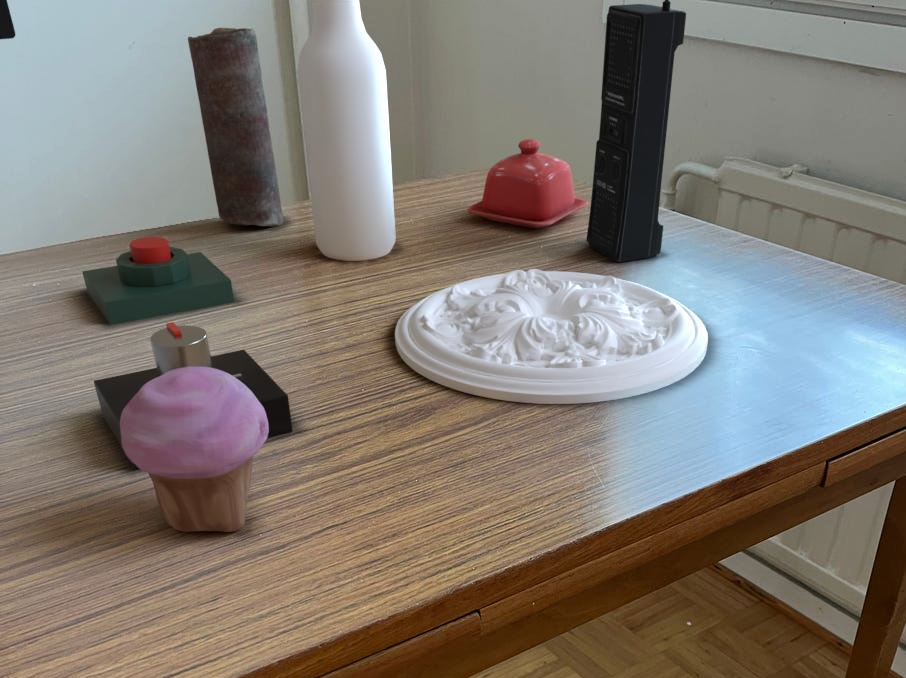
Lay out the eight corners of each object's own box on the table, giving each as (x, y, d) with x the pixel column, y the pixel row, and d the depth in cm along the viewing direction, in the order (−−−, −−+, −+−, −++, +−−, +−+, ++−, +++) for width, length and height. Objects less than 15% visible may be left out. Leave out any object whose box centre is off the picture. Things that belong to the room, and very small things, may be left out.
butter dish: (545, 237, 112) (548, 156, 106) (461, 221, 117) (460, 143, 111) (592, 212, 119) (597, 135, 114) (512, 198, 124) (513, 124, 119)
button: (138, 269, 93) (134, 250, 92) (129, 258, 95) (125, 240, 94) (176, 262, 94) (172, 244, 93) (165, 252, 97) (162, 234, 96)
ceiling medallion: (508, 266, 104) (508, 235, 102) (757, 321, 91) (763, 287, 89) (330, 352, 86) (326, 316, 84) (608, 435, 73) (611, 396, 71)
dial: (223, 390, 73) (213, 334, 70) (170, 403, 71) (158, 346, 69) (206, 371, 76) (195, 317, 73) (155, 383, 74) (142, 327, 71)
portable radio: (578, 243, 110) (593, -25, 94) (625, 236, 112) (647, -28, 96) (613, 264, 104) (635, -18, 88) (662, 256, 106) (691, -21, 90)
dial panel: (134, 470, 70) (124, 430, 68) (102, 416, 77) (92, 378, 75) (293, 432, 74) (287, 392, 72) (249, 384, 81) (243, 347, 79)
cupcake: (129, 554, 61) (88, 406, 55) (163, 484, 68) (130, 346, 62) (270, 553, 61) (245, 405, 55) (290, 484, 68) (270, 345, 62)
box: (110, 325, 91) (100, 282, 89) (87, 293, 98) (77, 252, 96) (234, 302, 96) (227, 260, 94) (204, 273, 103) (197, 233, 100)
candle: (239, 238, 112) (207, 34, 99) (207, 224, 116) (173, 27, 104) (295, 225, 116) (271, 27, 103) (262, 212, 120) (236, 20, 108)
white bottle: (335, 267, 104) (301, -84, 85) (304, 245, 110) (266, -87, 91) (409, 254, 107) (392, -87, 88) (376, 233, 113) (353, -90, 94)
